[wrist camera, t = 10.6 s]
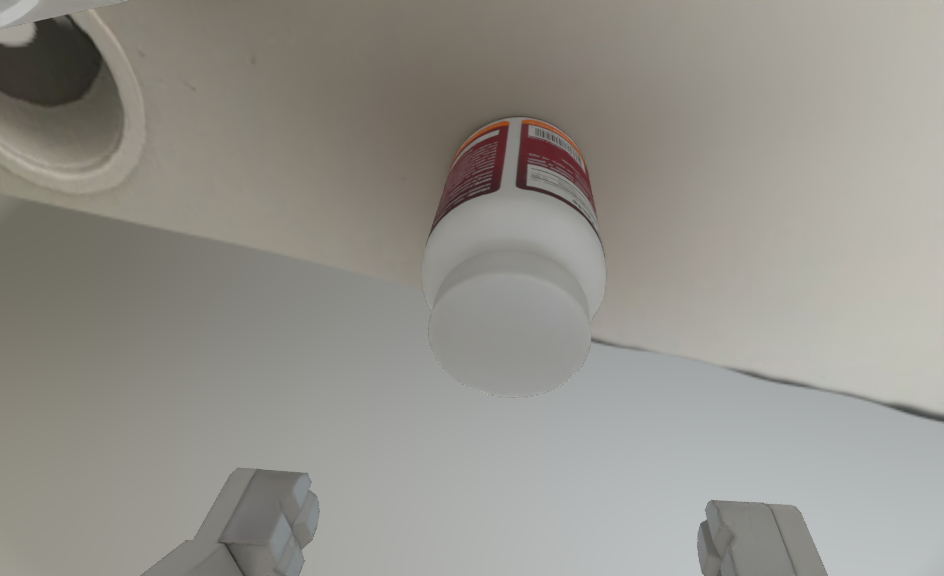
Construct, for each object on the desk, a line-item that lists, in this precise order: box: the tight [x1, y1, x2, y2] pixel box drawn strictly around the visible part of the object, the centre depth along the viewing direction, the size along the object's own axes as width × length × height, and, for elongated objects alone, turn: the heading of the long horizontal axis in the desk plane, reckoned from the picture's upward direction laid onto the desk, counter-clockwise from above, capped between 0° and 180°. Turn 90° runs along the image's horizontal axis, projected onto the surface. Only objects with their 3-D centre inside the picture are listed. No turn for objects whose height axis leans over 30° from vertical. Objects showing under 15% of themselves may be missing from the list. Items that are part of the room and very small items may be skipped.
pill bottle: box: [421, 117, 607, 398], centre depth 20 cm, size 6×6×11 cm
